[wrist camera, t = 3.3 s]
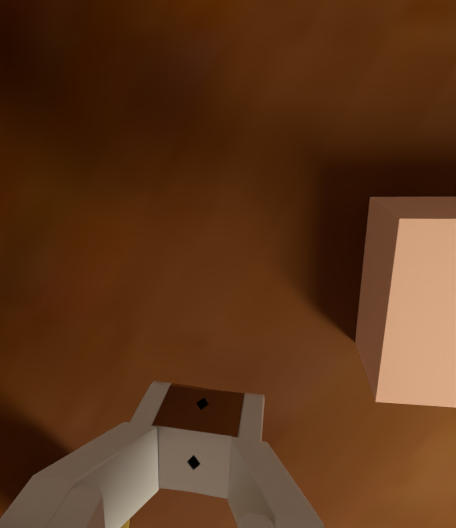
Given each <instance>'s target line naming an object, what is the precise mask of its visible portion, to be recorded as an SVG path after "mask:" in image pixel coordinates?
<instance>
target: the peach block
mask: <svg viewBox="0 0 456 528" xmlns="http://www.w3.org/2000/svg"><path fill="white" fill-rule="evenodd" d="M355 343H356V346H357V349H358V352H359V355H360V358H361V361H362V364H363V367H364V370H365V372H366V375H367V378H368V381H369V384H370V387H371V390H372V393H373V396H374V399H375V401H376V402H387V403H401V404H415V405H429V406H443V407H456V197H370V201H369V210H368V220H367V230H366V240H365V250H364V260H363V270H362V280H361V289H360V299H359V309H358V319H357V329H356V339H355Z"/></svg>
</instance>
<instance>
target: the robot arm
mask: <svg viewBox="0 0 456 528" xmlns="http://www.w3.org/2000/svg"><path fill="white" fill-rule="evenodd" d="M264 398H265V397H264V394H254V393H238V392H230V391H222V390H214V389H208V388H201V387H194V386H188V385H181V384H174V383H173V384H171V383H166V382H159V381H154V382H153V383H151V384H150V386H149V388H148V390H147V392H146V394H145V395H144V397H143V399H142V401H141V403H140V404H139V406H138V408H137V410H136V412H135V413H134V415H133V417H132V419H131V421H130V422H129V423H128V422H123V423H121V424H120V425H118V426H116V427H115V428H113V429H111V430H109V431H108V432H106V433H104V434H103V435H101V436H99V437H97V438H96V439H94V440H92V441H91V442H89V443H87V444H86V445H84V446H82V447H80V448H79V449H77V450H75V451H74V452H72V453H70V454H69V455H67V456H65V457H63V458H62V459H60V460H58V461H57V462H55V463H53V464H52V465H50V466H48V467H46V468H45V469H43V470H41V471H40V472H38V473H36V474H34V475H33V476H32V478H31V479H30V480H29V481H28V483H27V484H26V485H25V487H24V488H23V489H22V491H21V492H20V493H19V495H18V496H17V497H16V499H15V500H14V501H13V503H12V504H11V505H10V507H9V508H8V509H7V511H6V512H5V513H4V515H3V516H2V517H1V518H0V528H120V527H121V526H123V525H124V524H125V523H126V522H127V521H128V520H129V519H130V518H131V517H132V516H133V515H134V514H135V513H136V512H137V511H138V510H139V509H140V508H141V507H142V506H143V505H144V504H145V503H146V502H147V501H148V500H149V499H150V498H151V497H152V496H153V495H154V494H155V493H156V492H157V491H158V490H159V488H165V489H173V490H181V491H188V492H195V493H200V494H205V495H211V496H216V497H221V498H226V499H228V503H229V505H230V508H231V510H232V513H233V516H234V518H235V521H236V523H237V528H324V523H323V522H322V520H321V519H320V517H319V516H318V515H317V513H316V512H315V510H314V509H313V507H312V506H311V505H310V503H309V502H308V500H307V499H306V497H305V496H304V494H303V493H302V492H301V490H300V489H299V487H298V486H297V484H296V483H295V481H294V480H293V479H292V477H291V476H290V474H289V473H288V471H287V470H286V468H285V467H284V466H283V464H282V463H281V461H280V460H279V458H278V457H277V455H276V454H275V453H274V451H273V450H272V448H271V447H270V445H269V444H268V443H267V442H263V441H261V440H262V426H263V412H264Z"/></svg>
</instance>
